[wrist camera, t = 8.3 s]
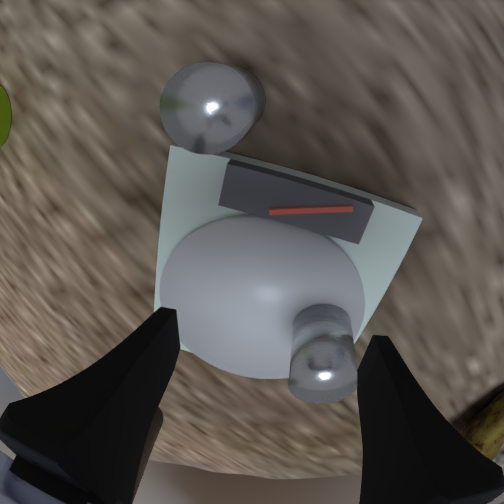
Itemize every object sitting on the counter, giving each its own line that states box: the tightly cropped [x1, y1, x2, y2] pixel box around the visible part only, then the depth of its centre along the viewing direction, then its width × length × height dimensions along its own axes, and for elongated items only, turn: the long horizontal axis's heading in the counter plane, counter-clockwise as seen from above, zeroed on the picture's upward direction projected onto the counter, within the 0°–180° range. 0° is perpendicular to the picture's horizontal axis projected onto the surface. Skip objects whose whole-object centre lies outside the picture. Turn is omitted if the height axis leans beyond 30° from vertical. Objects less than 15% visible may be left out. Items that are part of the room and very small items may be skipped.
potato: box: [461, 391, 504, 461], centre depth 25 cm, size 8×13×8 cm, turn 143°
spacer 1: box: [160, 62, 265, 155], centre depth 14 cm, size 4×4×5 cm
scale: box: [154, 143, 423, 379], centre depth 21 cm, size 16×15×2 cm
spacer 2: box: [288, 304, 357, 404], centre depth 19 cm, size 4×4×5 cm
